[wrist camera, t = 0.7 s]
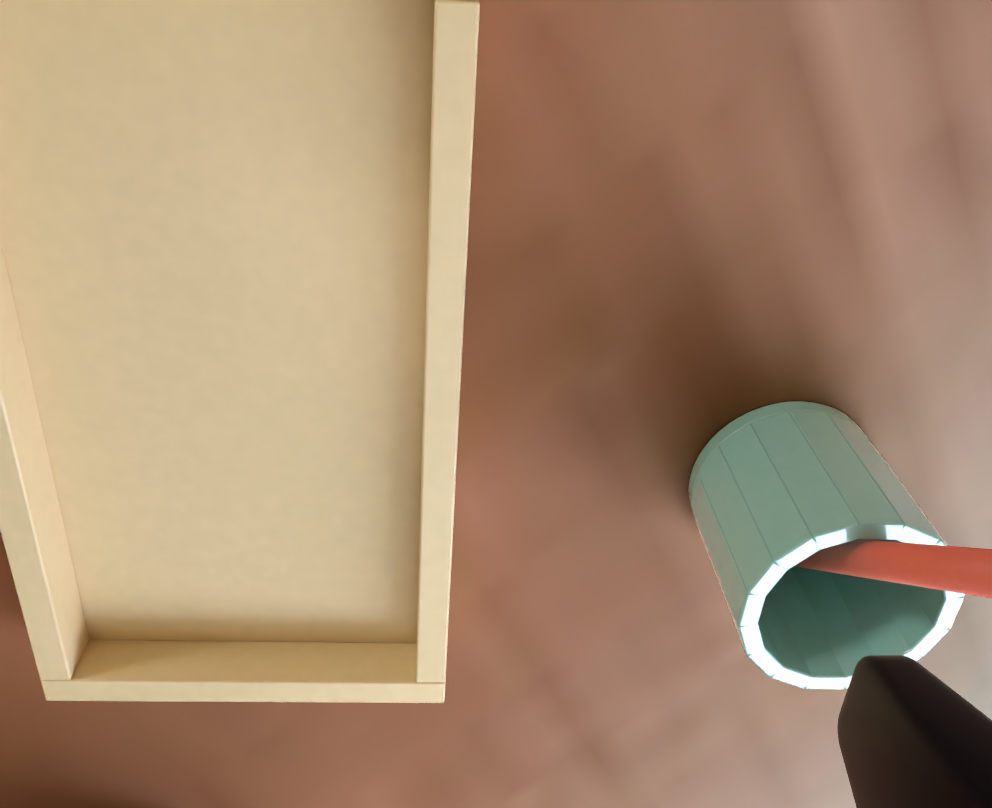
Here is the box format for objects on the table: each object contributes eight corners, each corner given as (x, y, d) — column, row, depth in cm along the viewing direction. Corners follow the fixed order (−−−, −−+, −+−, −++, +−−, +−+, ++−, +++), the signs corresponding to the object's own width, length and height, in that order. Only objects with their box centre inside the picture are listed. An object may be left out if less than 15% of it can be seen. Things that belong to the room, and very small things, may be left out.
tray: (444, 647, 27) (444, 704, 25) (72, 643, 26) (45, 701, 24) (478, -59, 17) (482, -50, 16) (-103, -99, 17) (-170, -95, 15)
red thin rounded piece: (783, 550, 25) (957, 891, 16) (754, 549, 25) (914, 890, 16) (851, 305, 21) (1117, 579, 13) (818, 304, 21) (1064, 578, 13)
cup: (844, 552, 26) (925, 690, 21) (674, 549, 25) (721, 689, 21) (894, 403, 23) (996, 525, 19) (706, 397, 23) (766, 521, 19)
